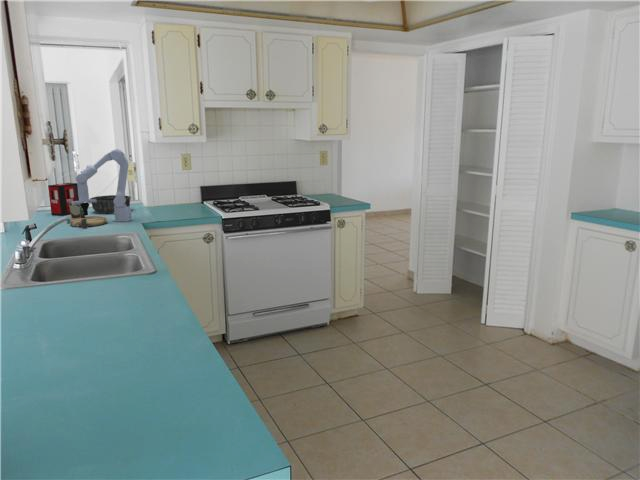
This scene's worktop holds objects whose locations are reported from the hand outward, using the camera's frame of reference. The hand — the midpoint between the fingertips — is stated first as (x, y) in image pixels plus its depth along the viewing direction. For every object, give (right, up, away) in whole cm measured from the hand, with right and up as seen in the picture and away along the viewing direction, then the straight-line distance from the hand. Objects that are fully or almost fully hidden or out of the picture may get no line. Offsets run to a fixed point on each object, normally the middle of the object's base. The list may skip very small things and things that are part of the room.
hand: (85, 215), depth 303 cm
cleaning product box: (-27, +2, +30) cm, 40 cm away
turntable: (+5, -6, -5) cm, 9 cm away
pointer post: (+7, -8, -16) cm, 20 cm away
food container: (-10, -1, +14) cm, 18 cm away
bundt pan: (0, +4, +39) cm, 39 cm away
